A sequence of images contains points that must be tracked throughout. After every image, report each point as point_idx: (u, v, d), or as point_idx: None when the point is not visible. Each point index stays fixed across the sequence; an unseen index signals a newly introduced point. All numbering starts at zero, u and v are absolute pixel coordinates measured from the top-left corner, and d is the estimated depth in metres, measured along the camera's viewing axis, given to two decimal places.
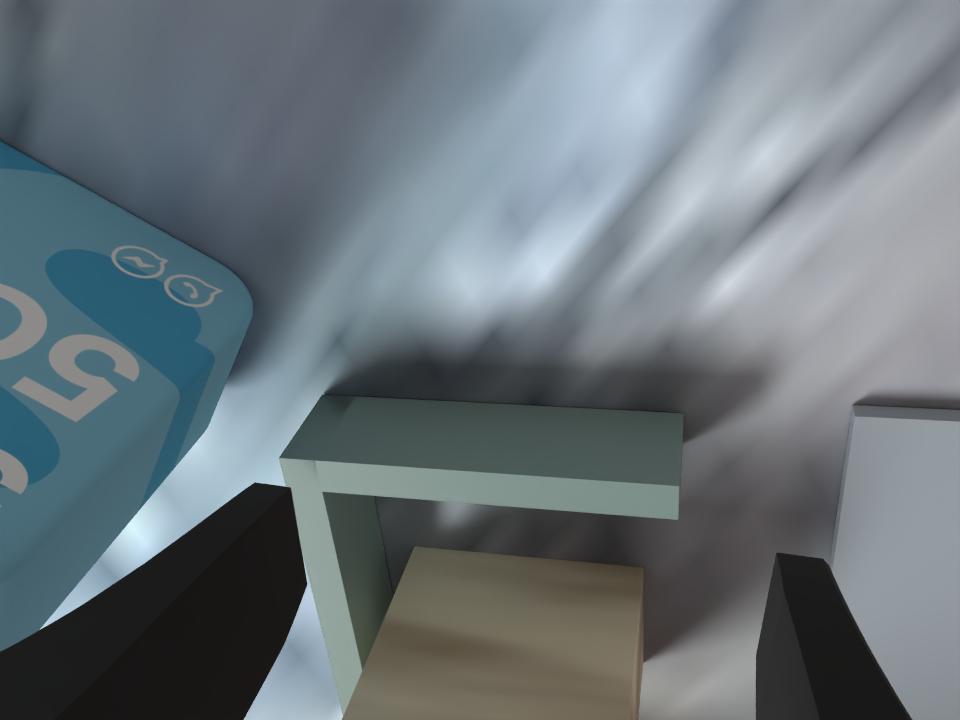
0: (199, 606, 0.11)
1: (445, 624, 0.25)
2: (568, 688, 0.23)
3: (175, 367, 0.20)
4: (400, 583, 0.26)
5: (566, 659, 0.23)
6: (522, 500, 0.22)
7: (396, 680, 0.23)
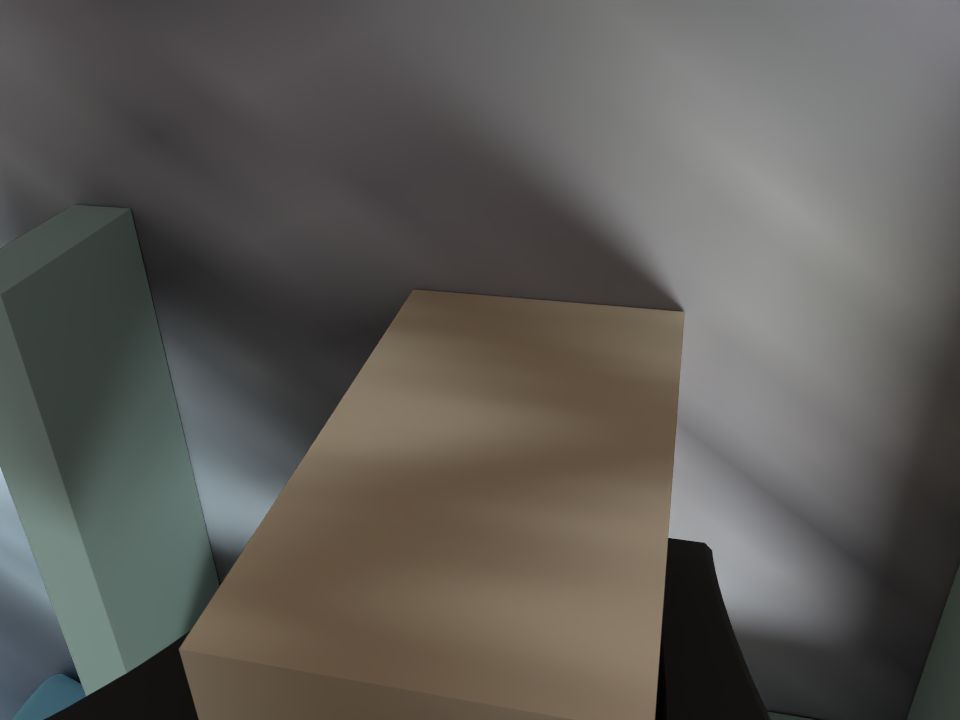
0: None
1: None
2: None
3: None
4: None
5: None
6: (61, 516, 0.13)
7: None
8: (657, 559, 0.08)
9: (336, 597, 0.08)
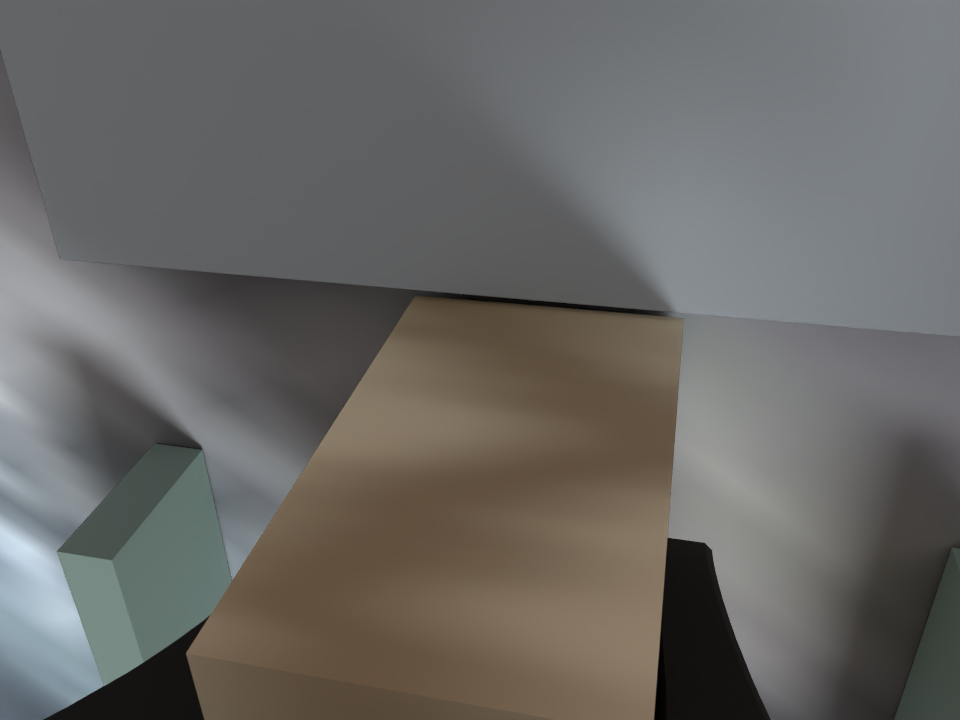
0: None
1: None
2: None
3: None
4: None
5: None
6: None
7: None
8: (657, 564, 0.09)
9: (340, 601, 0.08)
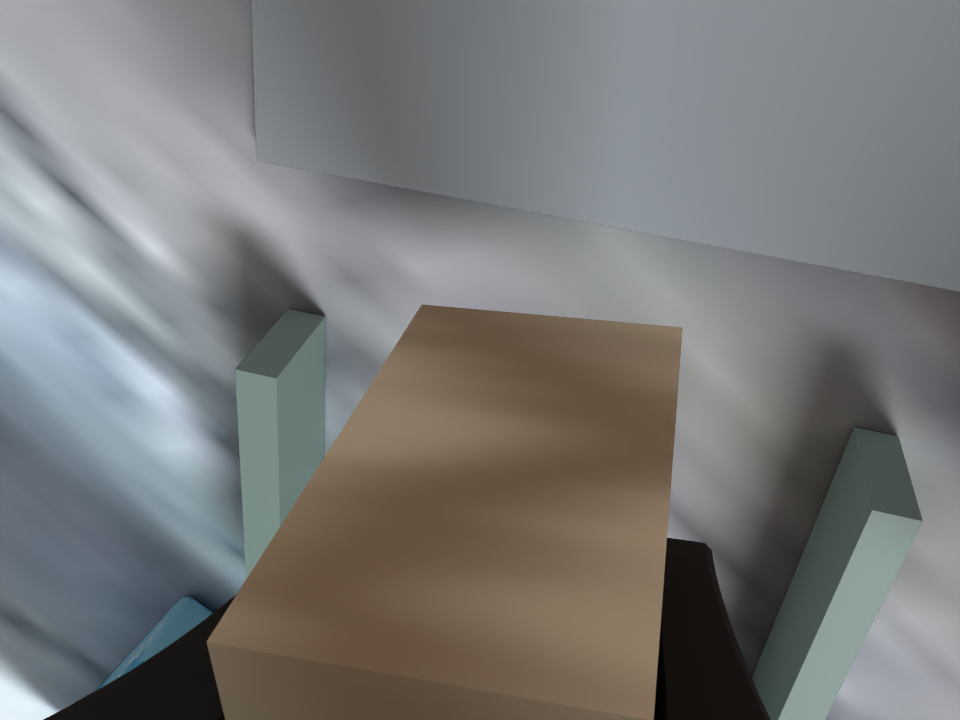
0: None
1: None
2: None
3: None
4: None
5: None
6: (270, 500, 0.22)
7: None
8: (657, 559, 0.09)
9: (355, 593, 0.09)
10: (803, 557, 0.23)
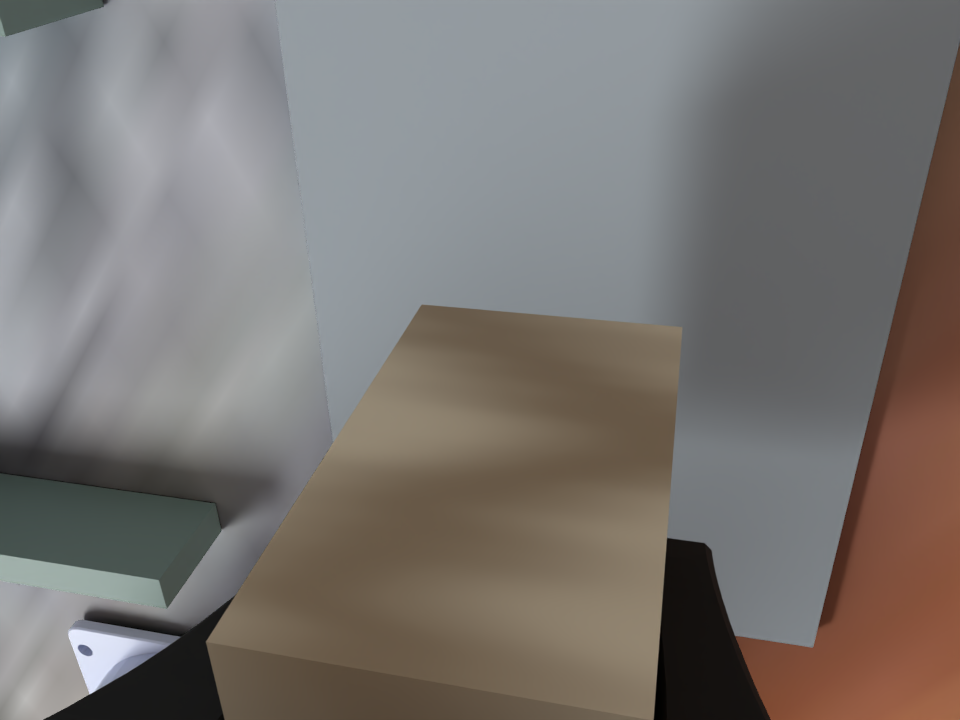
0: None
1: None
2: None
3: None
4: None
5: None
6: None
7: None
8: (656, 559, 0.09)
9: (354, 594, 0.09)
10: (82, 489, 0.25)
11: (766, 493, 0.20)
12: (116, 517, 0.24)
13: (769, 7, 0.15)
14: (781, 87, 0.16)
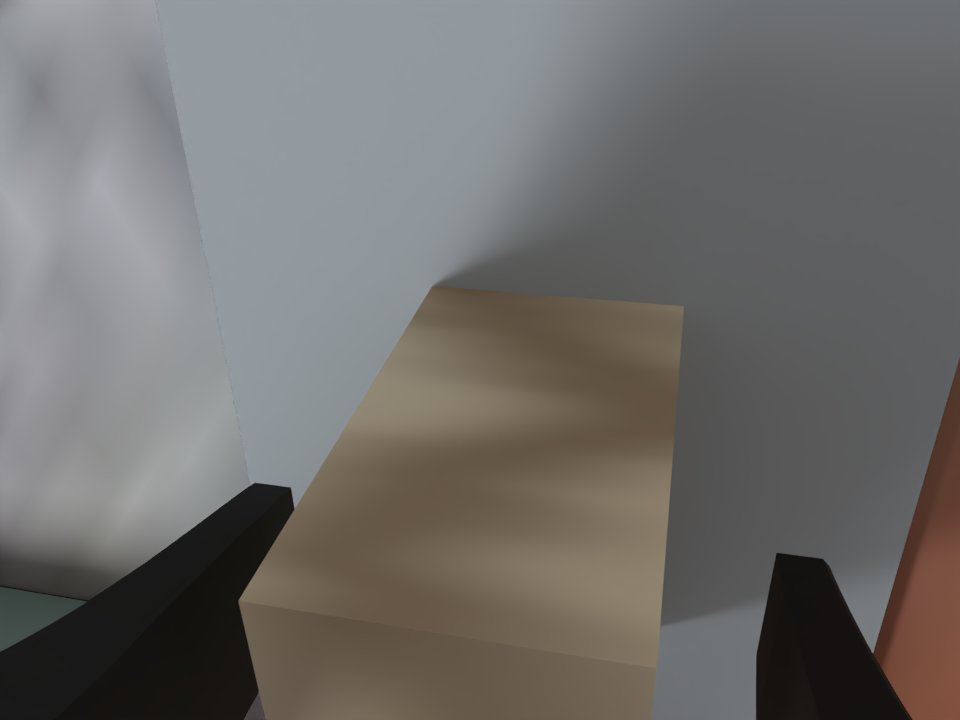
0: (199, 606, 0.11)
1: None
2: None
3: None
4: None
5: None
6: None
7: None
8: (660, 523, 0.09)
9: (375, 556, 0.09)
10: None
11: None
12: (20, 628, 0.21)
13: (785, 61, 0.12)
14: (799, 160, 0.12)
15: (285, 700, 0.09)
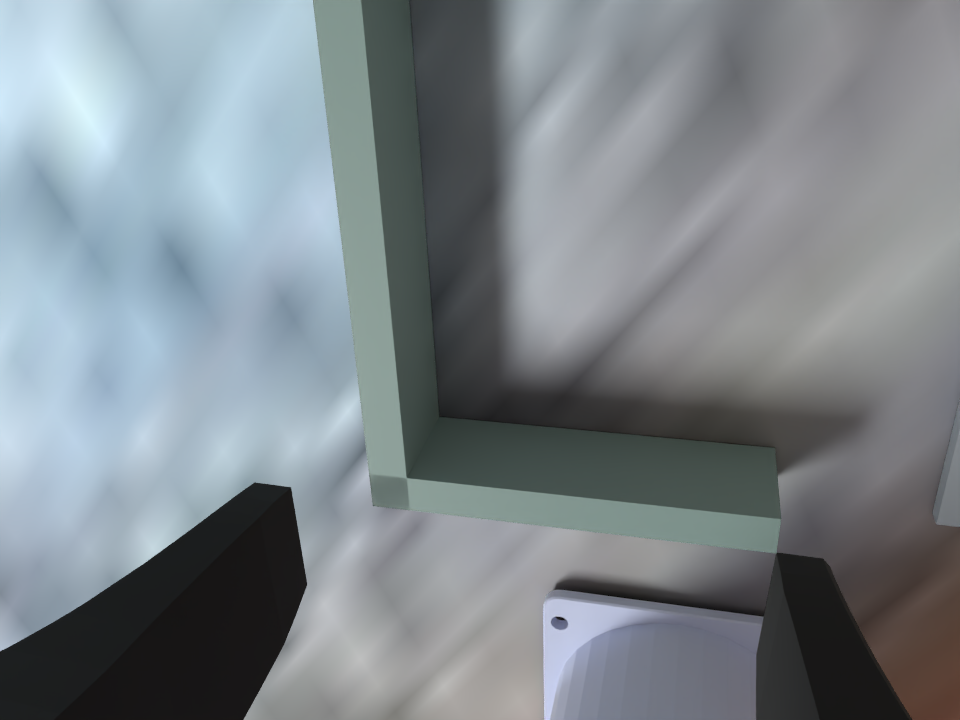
0: (199, 606, 0.11)
1: None
2: None
3: None
4: None
5: None
6: None
7: None
8: None
9: None
10: (617, 437, 0.24)
11: None
12: (678, 462, 0.23)
13: None
14: None
15: None
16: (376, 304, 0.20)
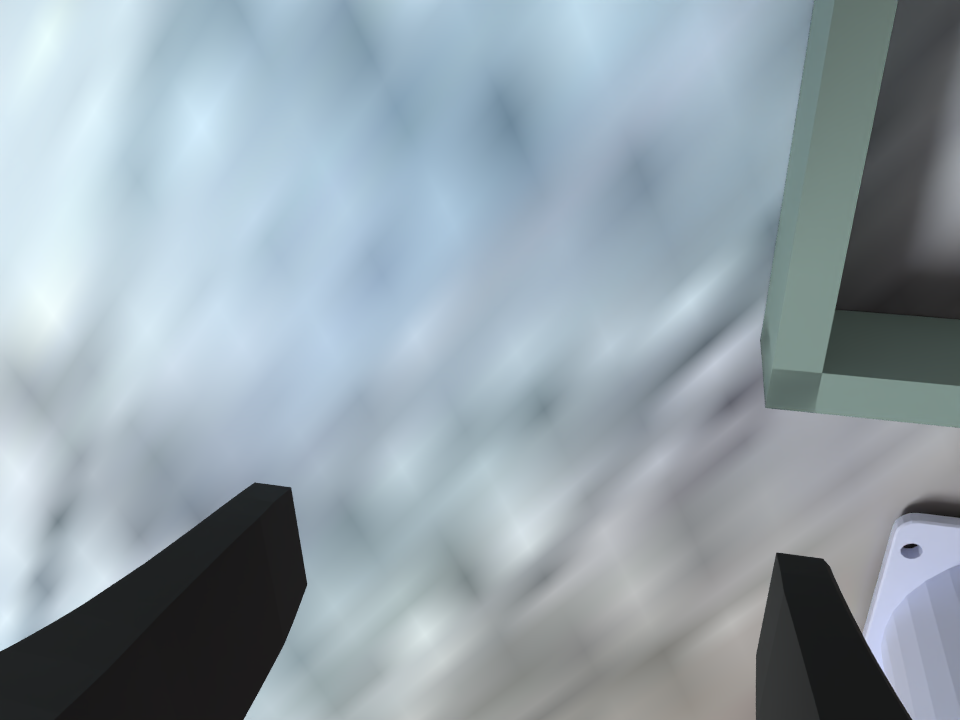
0: (199, 606, 0.11)
1: None
2: None
3: None
4: None
5: None
6: None
7: None
8: None
9: None
10: None
11: None
12: None
13: None
14: None
15: None
16: (848, 148, 0.16)
